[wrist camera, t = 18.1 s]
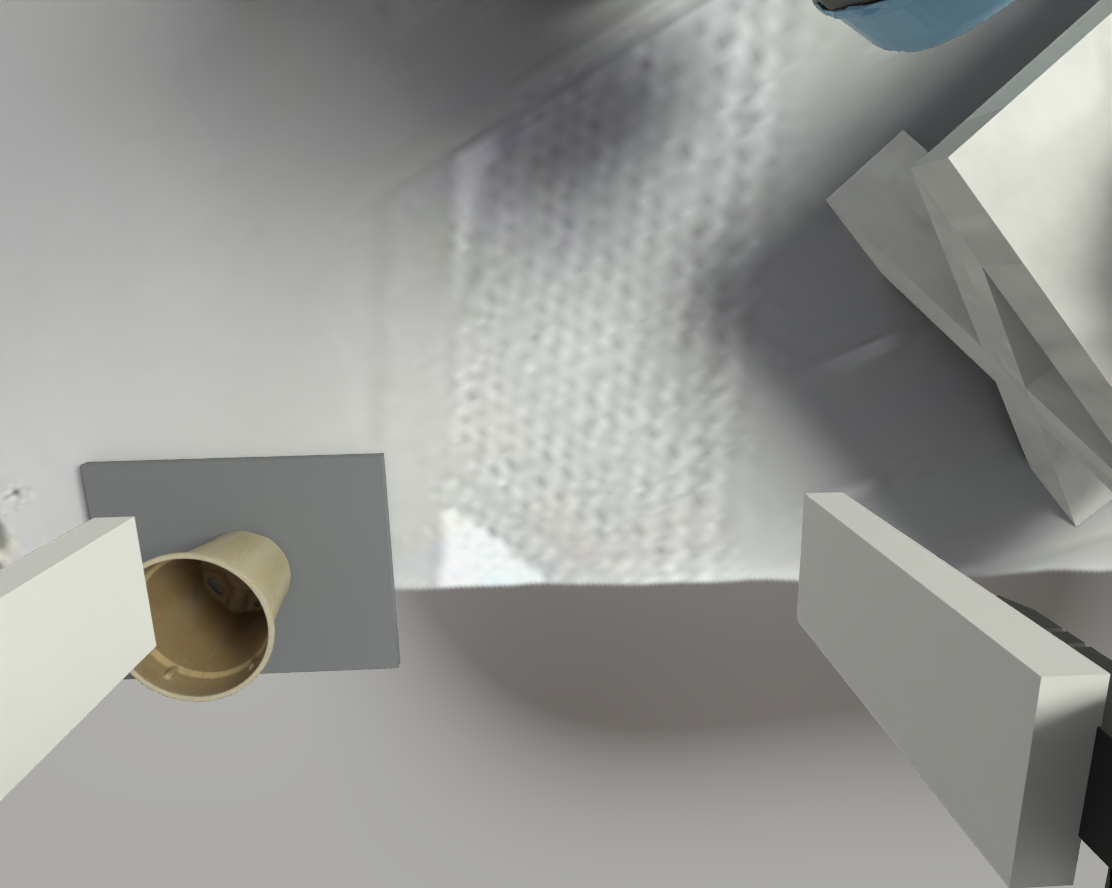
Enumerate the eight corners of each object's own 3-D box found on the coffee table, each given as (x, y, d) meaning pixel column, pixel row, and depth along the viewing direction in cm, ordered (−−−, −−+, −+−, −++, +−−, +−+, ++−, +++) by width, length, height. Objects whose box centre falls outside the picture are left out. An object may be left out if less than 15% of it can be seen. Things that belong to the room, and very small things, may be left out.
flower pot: (230, 479, 48) (167, 521, 39) (343, 562, 49) (305, 619, 41) (151, 578, 49) (74, 639, 41) (263, 655, 51) (211, 730, 42)
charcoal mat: (383, 453, 49) (381, 456, 48) (400, 662, 52) (398, 667, 51) (87, 462, 48) (80, 465, 47) (125, 673, 51) (119, 679, 51)
